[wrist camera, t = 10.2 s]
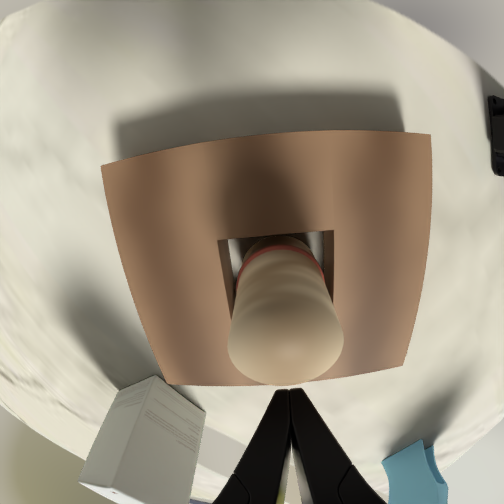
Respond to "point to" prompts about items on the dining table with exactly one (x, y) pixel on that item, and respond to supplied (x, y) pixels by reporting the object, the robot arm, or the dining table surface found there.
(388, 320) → the walnut board
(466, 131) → the dining table surface
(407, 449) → the vase
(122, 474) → the supplement box
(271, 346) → the beech peg
